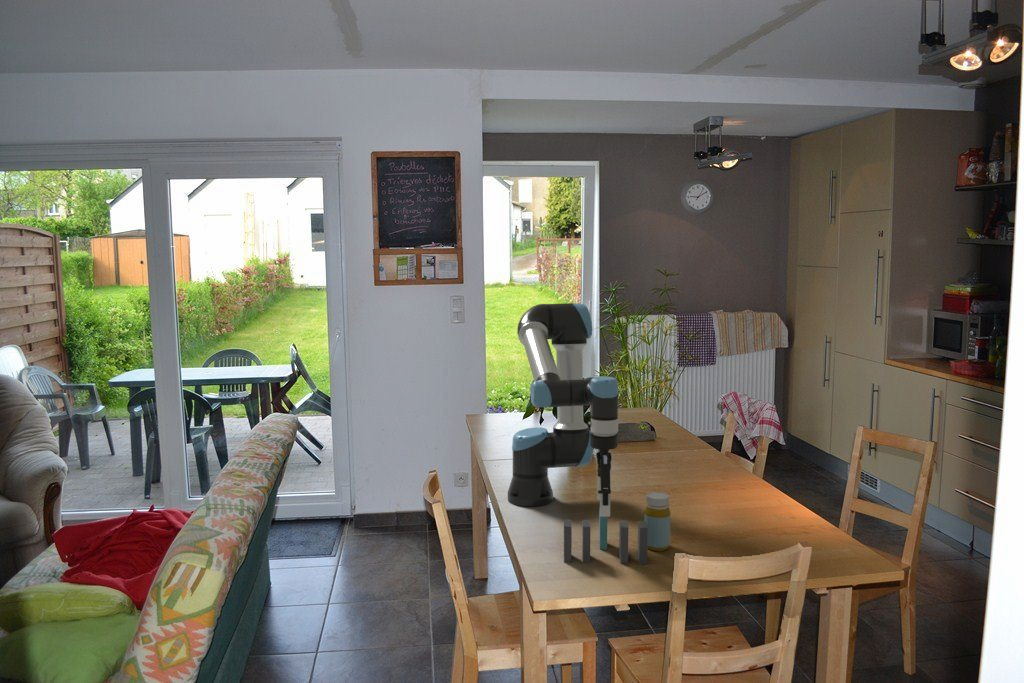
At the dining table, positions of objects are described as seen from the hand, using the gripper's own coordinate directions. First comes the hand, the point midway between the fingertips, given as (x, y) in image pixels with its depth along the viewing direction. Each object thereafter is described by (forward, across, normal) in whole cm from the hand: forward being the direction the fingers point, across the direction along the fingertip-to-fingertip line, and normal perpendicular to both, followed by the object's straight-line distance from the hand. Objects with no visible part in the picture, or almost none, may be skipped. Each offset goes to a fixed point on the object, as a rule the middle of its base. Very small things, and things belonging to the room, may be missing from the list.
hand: (603, 507), depth 213 cm
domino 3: (+11, 0, 0) cm, 11 cm away
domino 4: (+11, +8, +5) cm, 15 cm away
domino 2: (+11, +8, -5) cm, 15 cm away
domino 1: (+11, +8, -10) cm, 17 cm away
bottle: (+12, 0, +15) cm, 19 cm away
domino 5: (+11, +8, +10) cm, 17 cm away
